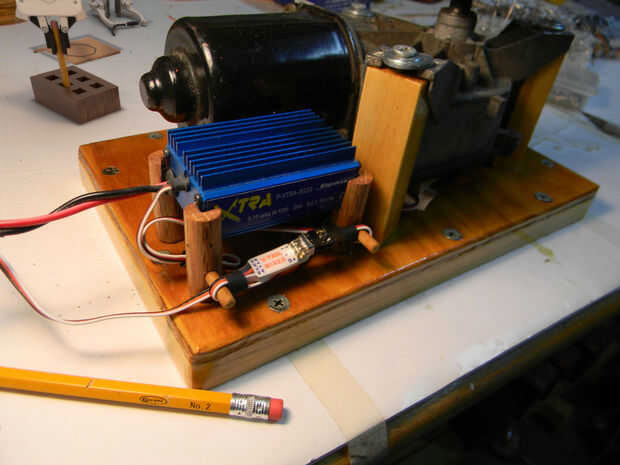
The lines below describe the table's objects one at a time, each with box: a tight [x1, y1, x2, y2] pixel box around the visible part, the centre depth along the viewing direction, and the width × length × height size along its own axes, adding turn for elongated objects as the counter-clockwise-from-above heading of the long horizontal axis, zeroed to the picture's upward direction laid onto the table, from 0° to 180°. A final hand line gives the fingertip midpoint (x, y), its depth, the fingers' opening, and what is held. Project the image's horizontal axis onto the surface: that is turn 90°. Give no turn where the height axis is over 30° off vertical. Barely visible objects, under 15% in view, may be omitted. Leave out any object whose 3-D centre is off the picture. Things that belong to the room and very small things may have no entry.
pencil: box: [49, 19, 70, 87], centre depth 90 cm, size 1×1×14 cm
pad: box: [33, 36, 121, 66], centre depth 120 cm, size 16×12×1 cm
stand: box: [29, 64, 122, 125], centre depth 96 cm, size 10×14×6 cm
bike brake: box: [88, 0, 150, 37], centre depth 139 cm, size 14×7×20 cm
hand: (59, 51), depth 89 cm, fingers closed on pencil, 1 cm apart
